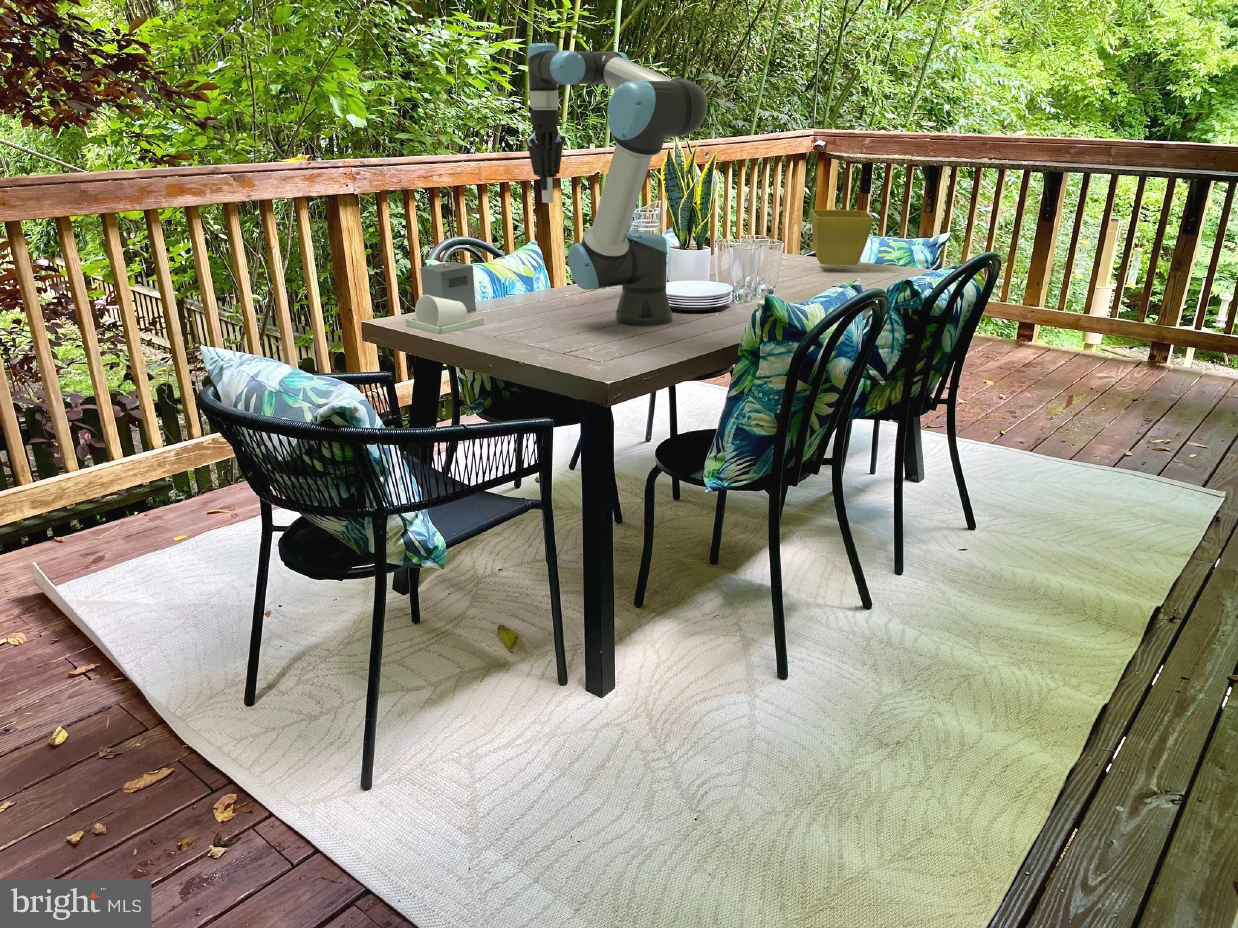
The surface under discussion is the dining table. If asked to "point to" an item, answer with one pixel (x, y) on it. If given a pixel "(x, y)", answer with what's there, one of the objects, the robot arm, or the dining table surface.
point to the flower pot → (840, 235)
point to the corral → (451, 328)
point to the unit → (450, 283)
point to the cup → (439, 311)
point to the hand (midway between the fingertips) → (547, 202)
